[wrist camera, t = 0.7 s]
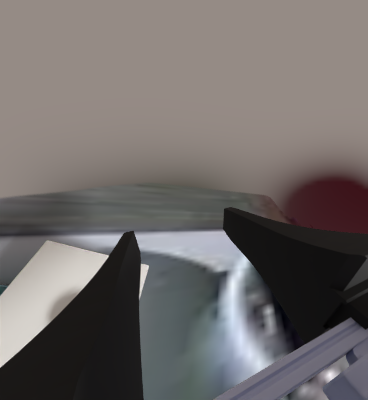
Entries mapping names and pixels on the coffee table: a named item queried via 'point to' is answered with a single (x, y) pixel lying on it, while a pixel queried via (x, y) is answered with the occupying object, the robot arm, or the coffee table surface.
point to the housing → (45, 292)
